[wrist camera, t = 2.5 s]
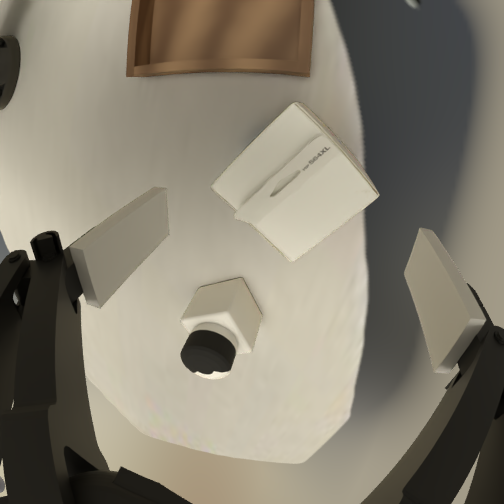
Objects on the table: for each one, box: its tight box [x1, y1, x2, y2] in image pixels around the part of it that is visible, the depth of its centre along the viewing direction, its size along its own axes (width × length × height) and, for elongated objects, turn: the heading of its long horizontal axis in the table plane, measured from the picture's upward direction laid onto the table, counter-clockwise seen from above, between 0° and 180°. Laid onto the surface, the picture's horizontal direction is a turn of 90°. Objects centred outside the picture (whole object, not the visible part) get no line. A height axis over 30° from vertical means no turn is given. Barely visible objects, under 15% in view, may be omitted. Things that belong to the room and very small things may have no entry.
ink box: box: [211, 102, 379, 262], centre depth 23 cm, size 9×8×13 cm
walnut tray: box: [126, 0, 315, 77], centre depth 19 cm, size 18×15×4 cm
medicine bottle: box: [180, 278, 262, 379], centre depth 35 cm, size 7×7×12 cm
